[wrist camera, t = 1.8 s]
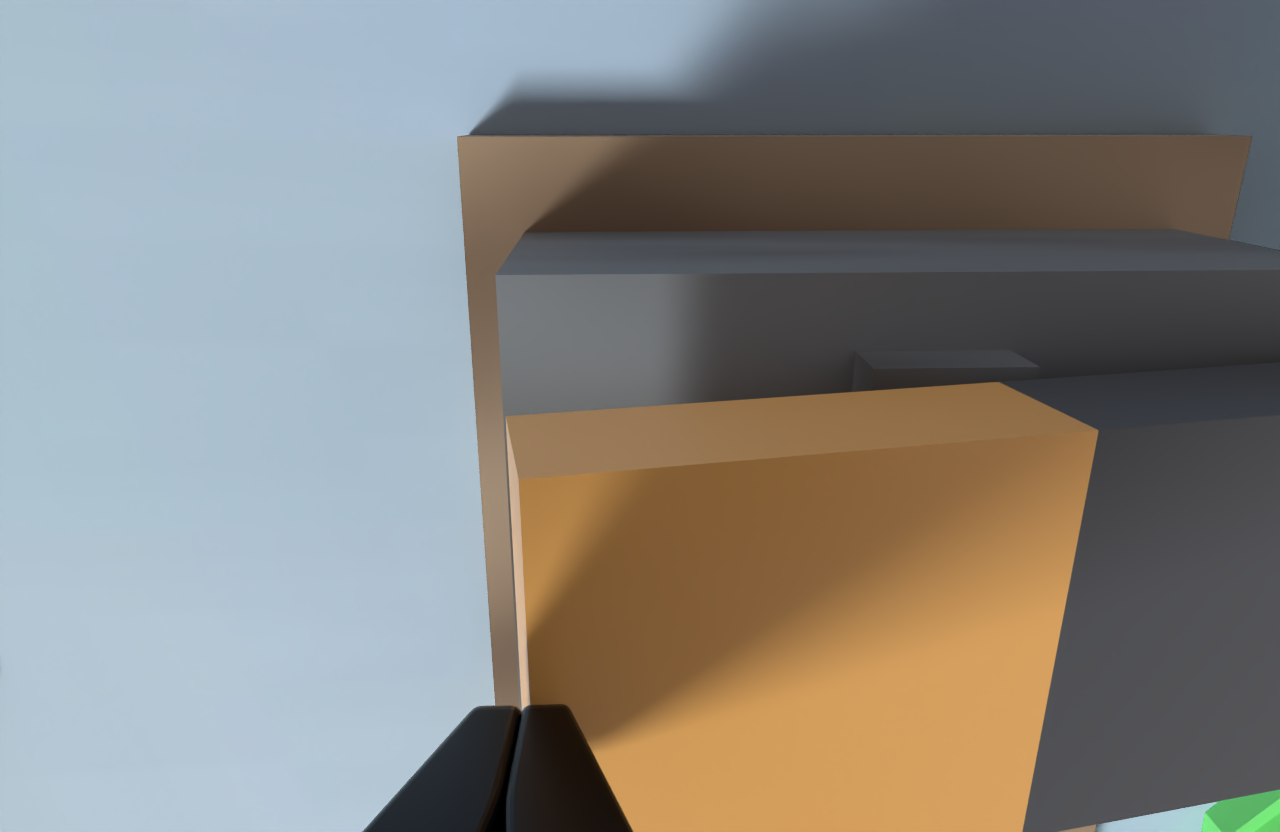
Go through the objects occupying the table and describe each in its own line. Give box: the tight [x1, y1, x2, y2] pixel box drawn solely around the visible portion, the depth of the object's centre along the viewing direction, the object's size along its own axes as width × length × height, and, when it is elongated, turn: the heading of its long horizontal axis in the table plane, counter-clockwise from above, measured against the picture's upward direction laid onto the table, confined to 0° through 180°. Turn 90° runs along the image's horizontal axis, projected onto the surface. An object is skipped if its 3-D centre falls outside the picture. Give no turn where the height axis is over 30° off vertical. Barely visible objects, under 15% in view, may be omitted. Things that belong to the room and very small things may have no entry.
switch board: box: [457, 135, 1280, 832], centre depth 16 cm, size 21×13×6 cm, turn 0°
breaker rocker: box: [506, 362, 1280, 832], centre depth 10 cm, size 11×5×2 cm, turn 90°
